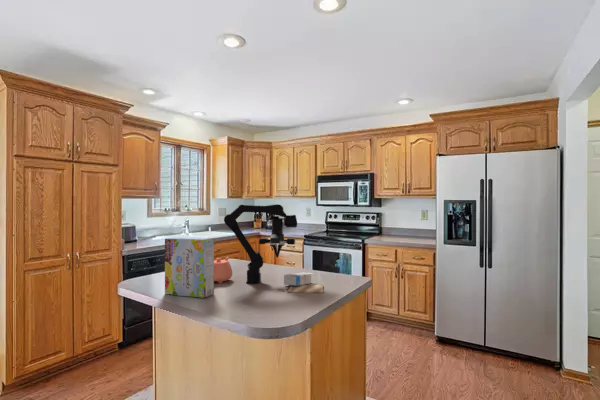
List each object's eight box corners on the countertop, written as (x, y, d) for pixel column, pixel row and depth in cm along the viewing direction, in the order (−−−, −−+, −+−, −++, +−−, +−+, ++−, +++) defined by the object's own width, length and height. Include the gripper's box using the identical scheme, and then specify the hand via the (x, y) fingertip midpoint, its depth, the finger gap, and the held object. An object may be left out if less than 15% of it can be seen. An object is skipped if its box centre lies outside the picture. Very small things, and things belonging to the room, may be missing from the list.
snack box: (215, 293, 153) (215, 237, 153) (204, 299, 145) (203, 239, 145) (176, 289, 160) (176, 236, 160) (163, 294, 152) (163, 238, 152)
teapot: (239, 277, 186) (239, 255, 186) (221, 286, 167) (221, 261, 167) (217, 276, 190) (217, 254, 190) (197, 284, 170) (197, 260, 170)
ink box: (296, 286, 161) (315, 282, 172) (296, 276, 161) (315, 273, 172) (283, 284, 167) (302, 281, 178) (283, 274, 167) (302, 271, 178)
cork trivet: (288, 292, 155) (288, 291, 155) (291, 285, 168) (291, 284, 168) (322, 293, 154) (322, 291, 154) (323, 285, 166) (323, 284, 166)
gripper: (256, 229, 170) (256, 259, 170) (293, 229, 168) (293, 260, 168) (261, 227, 181) (261, 256, 181) (295, 227, 180) (295, 256, 179)
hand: (277, 257), depth 177 cm, fingers closed
